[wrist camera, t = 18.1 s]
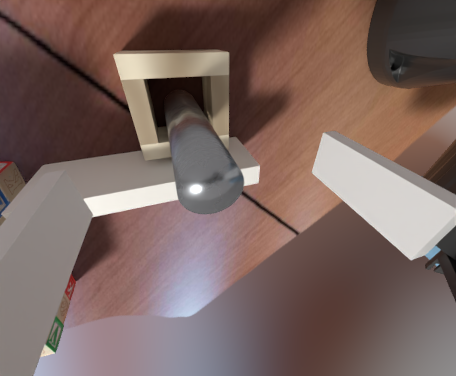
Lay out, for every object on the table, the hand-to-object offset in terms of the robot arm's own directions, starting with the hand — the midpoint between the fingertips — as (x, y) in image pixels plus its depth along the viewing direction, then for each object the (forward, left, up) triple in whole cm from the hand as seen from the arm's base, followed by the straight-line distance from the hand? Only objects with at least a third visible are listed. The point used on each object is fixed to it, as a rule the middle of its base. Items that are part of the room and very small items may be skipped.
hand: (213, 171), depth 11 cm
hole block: (0, -1, -12) cm, 12 cm away
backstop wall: (+4, +5, -12) cm, 14 cm away
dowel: (0, 0, -12) cm, 12 cm away
